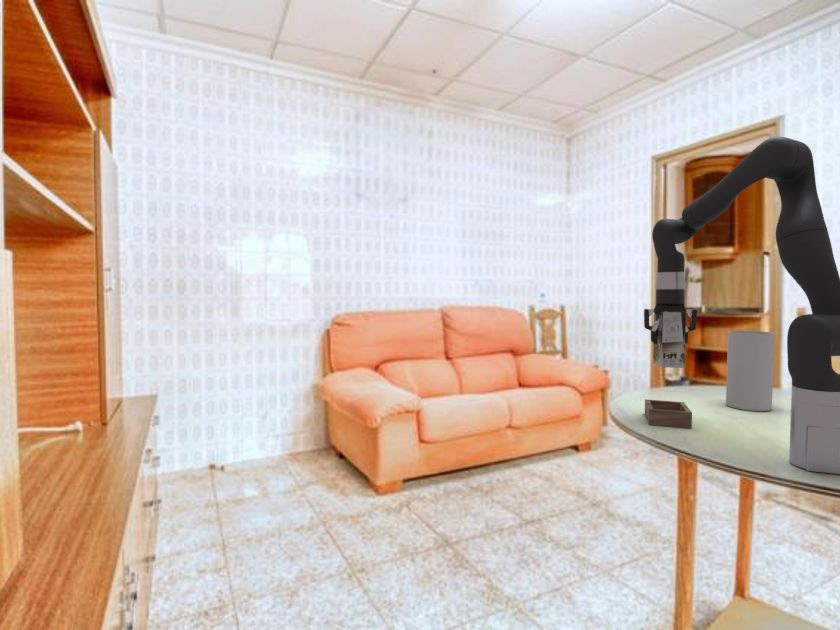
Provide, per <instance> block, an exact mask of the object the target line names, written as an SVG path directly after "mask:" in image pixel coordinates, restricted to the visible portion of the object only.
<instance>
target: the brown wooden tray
mask: <svg viewBox="0 0 840 630" xmlns="http://www.w3.org/2000/svg"><path fill="white" fill-rule="evenodd" d="M644 416H645V419H646V422H647V424H648V425H649V426H657V427H668V428H679V429H690V430H692V429H693V412H692V411H691V409H690V408H689V407H688V406H687V404H686V403H685V402H684V401H674V400H673V401H672V400H671V401H670V400H661V399H660V400H657V399H646V398H645V399H644Z"/></svg>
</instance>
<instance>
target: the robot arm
mask: <svg viewBox="0 0 840 630" xmlns="http://www.w3.org/2000/svg"><path fill="white" fill-rule="evenodd" d="M814 163H815V162H814V156H813V152H812V150H811V148H810V147H809V146H808V145H807V144H806V143H805V142H802V141H799V140H797V139H792V138H789V137H784V136H773V137H770V138H767V139H765V140H764V141H762V142H761V143H760V144H759V145H757V146H756V147H755V148H754V149H752V150H751V152H749V153H748V154H747V155H746V156H745V157H744V158H743V159H742V160H741V161H740V162H739V163H738V164H737V165H736V166H735V167H733V169H731V170H730V171H729V172H728V173H727V174H726V175H725V176H724V177H723V178H722V179H721V180H720V181H718V183H716V184H715V185H714V186H713V187H711V188H710V189H709V190H708V191H706V192H705V193H703V194H702V195H700V196H699V197H697V198H696V199H694V200H693V201H692V202H691V203H689V204H688V205H686V206H685V207H684V208H683V210H682V211H681V218H679V219H678V218H677V219H675V218H672V219H671V218H662V219H660V220H658V221H657V222H656V223H655V224H654V225H653V228H652V233H651V234H652V235H651V237H652V238H651V239H652V242H653V247H654V251H655V255H656V257H657V258H656V259H657V263H656V264H657V265H656V267H657V268H656V270H657V271H656V275H657V276H656V280H655V307H654V308H649V309H648V308H644V309H643V325H644V326H643V327H644V328H645V330H649V331H650V342H651V343H653V345H654V344H656V343H657V332H656V330H657V328H658V325H659V319H658V320H657V321H655V323H654V322H653V324H652V325H650V317H651V316H652V315H653V314H654V313H655V314H656V316H657V317H658V315H659V312H667V311H681V312H686V314H687V316H688V317H689V318H690V319H689V326H687V325H686V331H685V344H688V343H689V332H691V331H696V329H697V318H698V317H697V316H698V310H697V309H687V308H686V304H685V303H686V302H685V301H686V299H685V298H686V278H685V265H686V264H685V261H686V260H685V255H684V253H682V252H681V251H678V250H677V247H676V245H679V244H683V243H685V242H688V241H689V240H690V239H692V238H693V237H694V235H695V236H696V234H697V233H698V232H699V231H700V230H701V229H702V227H703V226H705V225H707V224H708V223H709V222H712V221H714V220H715V219H716V218H718V217H719V216H720V215H722V214H724V212H726V211H727V210H728V209H729V207H730V206H731V205H732V204H733V202H734V201H735V199H736V198H737V197H738V196H739V195H740V194H741V193H742V192H743V191H744V190H745V189H747V188H748V187H750V186H751V185H753V184H755V183H757V182H760V181H762V180H764V179H769V180H773V181H774V182H775V185H776V188H777V191H778V195H779V197H780V204H781V205H780V206H781V207H780V212H779V217H778V220H777V224H776V228H775V242H776V246H777V249H778V254H779V255H778V256H779V259H780V261H781V264H782V265H783V267H784V269H785V270H786V271H787V273H788V274H789V276H791V278H793V280H794V281H795V282H796V284H797V285H799V287H800V288H801V289H802V291H803V292H804V293H805V295H806V298H807V299H808V303H809V305H810V310H811V313H807V314H802V315H799V316H797V317H795V318H794V319H793V320H792V322H791V323H790V325H789V327H788V329H787V337H786V339H787V340H786V347H787V348H786V349H787V350H786V351H787V352H786V353H787V369H788V373H789V375H790V379H791V398H790V400H791V401H790V422H789V426H790V427H789V451H788V452H789V454H788V455H789V457H788V458H789V459H788V462H789V463H790V464H791V465H794V466H795V467H798V468H801V469H804V470H806V471H807V472H817V473H826V474H834V475H840V373H838V372H837V371H836V370H834V368H833V364H832V357H840V274H839V271H838V267H837V263H836V260H835V257H834V251H833V247H832V242H831V238H830V234H829V230H828V227H827V224H826V221H825V218H824V214H823V209H822V205H821V202H820V198H819V195H818V190H817V183H816V182H817V181H816V174H815V164H814Z"/></svg>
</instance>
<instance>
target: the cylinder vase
mask: <svg viewBox="0 0 840 630" xmlns="http://www.w3.org/2000/svg"><path fill="white" fill-rule="evenodd" d="M774 352H775V332H770V331H760V330H759V331H757V330H755V331H754V330H728V331H727V353H726V355H727V356H726V357H727V358H726V361H727V362H726V384H725V385H726V386H725V387H726V388H725V392H726V393H725V396H726V397H725V403H726V405H727V406H728V407H730V408H732V409H736V410H741V411H748V412H759V413H760V412H769V411H771V410H772V407H773V389H774V387H773V384H774V358H775V357H774V356H775V355H774V354H775V353H774Z"/></svg>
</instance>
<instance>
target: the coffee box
mask: <svg viewBox="0 0 840 630" xmlns="http://www.w3.org/2000/svg"><path fill="white" fill-rule="evenodd" d="M658 319H659V325H658V328H657V330H656V332H657V343H656V344H653V355H652V357H653V360H652V361H653V362H652V363H653V364H655V365H657V366H659V367H661V368H676V369H677V368H679V369H685V363H686V361H685V360H686V343H685V331H686V326H687V324H686V323H687V313H686V312H681V311H667V312H659V315H658V317H657V316H656V314H655V313H654V312H653V324H654V323H655V321H657V320H658Z"/></svg>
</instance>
